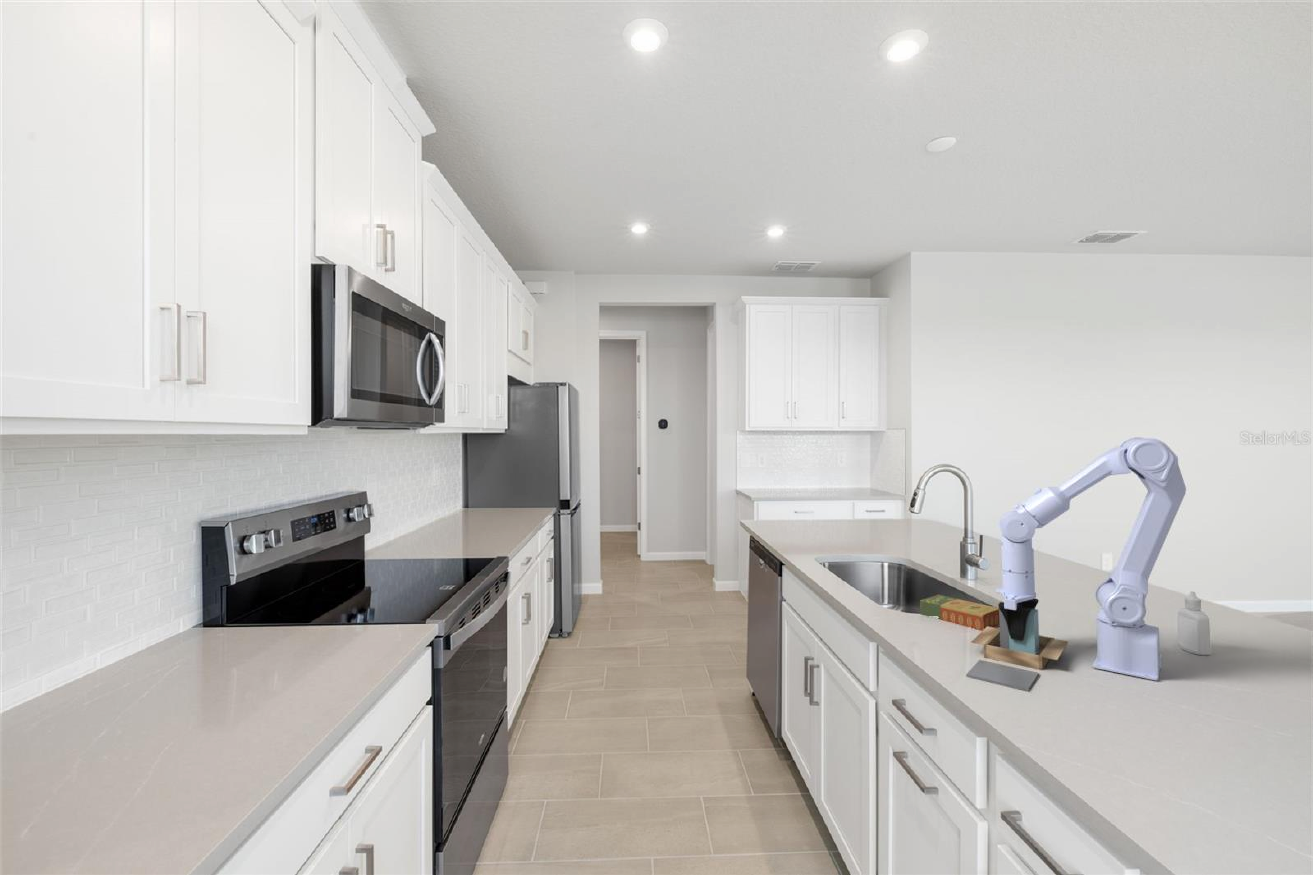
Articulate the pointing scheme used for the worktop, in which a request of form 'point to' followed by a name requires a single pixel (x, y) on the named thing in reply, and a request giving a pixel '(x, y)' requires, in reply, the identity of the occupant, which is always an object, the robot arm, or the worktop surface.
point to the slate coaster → (1003, 675)
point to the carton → (960, 612)
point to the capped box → (1030, 637)
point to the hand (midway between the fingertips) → (1019, 636)
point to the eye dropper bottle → (1193, 627)
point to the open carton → (992, 640)
